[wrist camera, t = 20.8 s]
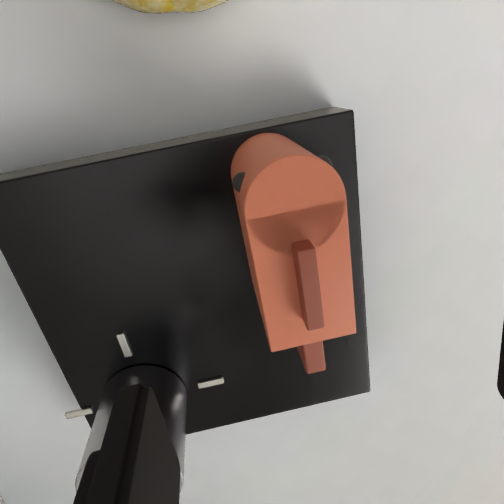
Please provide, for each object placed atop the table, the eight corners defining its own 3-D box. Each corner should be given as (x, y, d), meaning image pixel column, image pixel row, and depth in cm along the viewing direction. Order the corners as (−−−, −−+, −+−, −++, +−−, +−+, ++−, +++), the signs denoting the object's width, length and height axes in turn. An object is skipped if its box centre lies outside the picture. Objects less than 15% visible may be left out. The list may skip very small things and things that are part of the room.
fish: (321, 296, 19) (369, 381, 14) (256, 311, 19) (278, 402, 14) (300, 125, 16) (355, 147, 10) (221, 141, 16) (232, 172, 10)
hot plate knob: (173, 355, 20) (165, 443, 15) (196, 415, 22) (194, 511, 17) (90, 376, 20) (54, 472, 15) (119, 435, 21) (96, 536, 17)
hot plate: (356, 373, 25) (372, 403, 23) (104, 431, 25) (93, 469, 22) (335, 106, 18) (355, 109, 16) (-20, 177, 17) (-55, 192, 15)
